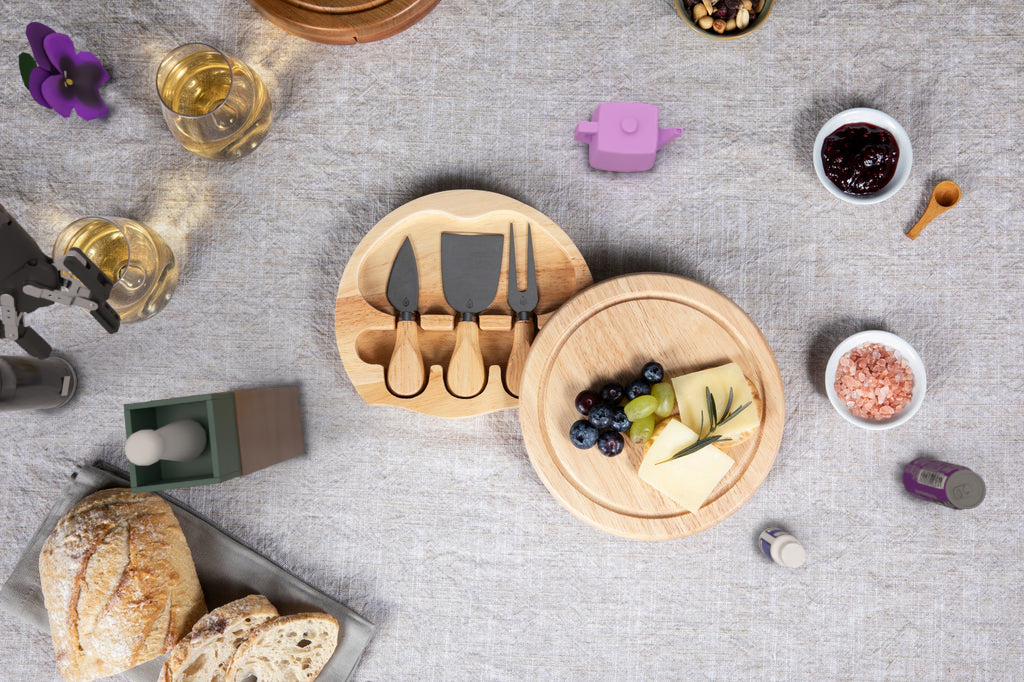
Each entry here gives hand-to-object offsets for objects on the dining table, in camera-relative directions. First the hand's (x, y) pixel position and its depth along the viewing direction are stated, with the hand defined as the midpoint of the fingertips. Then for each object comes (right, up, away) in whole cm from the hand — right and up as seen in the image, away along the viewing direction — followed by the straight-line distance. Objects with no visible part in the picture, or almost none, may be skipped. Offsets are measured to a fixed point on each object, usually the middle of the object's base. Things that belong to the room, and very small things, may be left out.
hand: (82, 341), depth 77 cm
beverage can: (+122, -24, +39) cm, 130 cm away
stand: (+7, -15, +41) cm, 44 cm away
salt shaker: (+6, -13, +15) cm, 21 cm away
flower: (-30, +45, +45) cm, 70 cm away
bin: (+6, -13, +15) cm, 21 cm away
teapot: (+70, +35, +43) cm, 89 cm away
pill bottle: (+96, -35, +39) cm, 109 cm away
